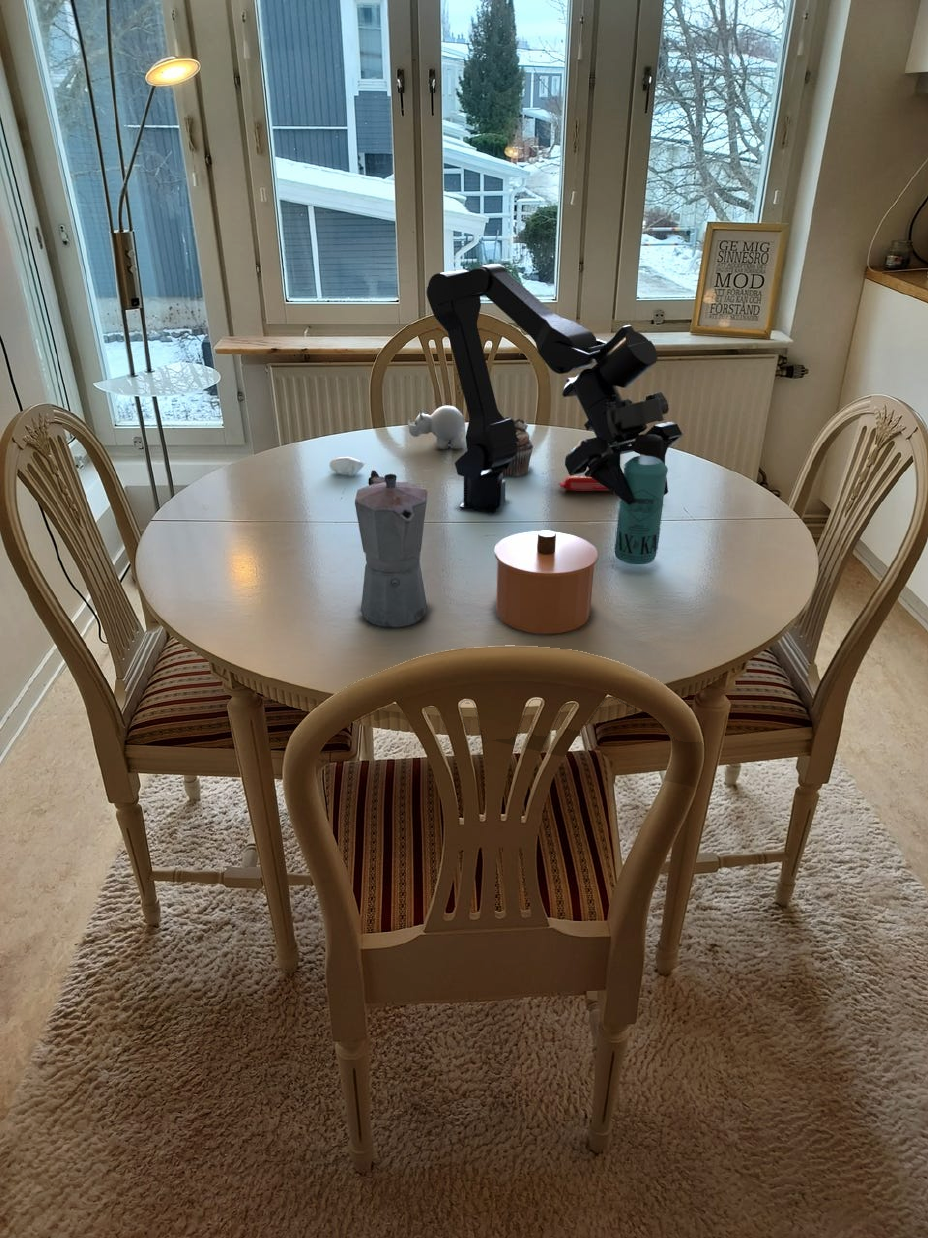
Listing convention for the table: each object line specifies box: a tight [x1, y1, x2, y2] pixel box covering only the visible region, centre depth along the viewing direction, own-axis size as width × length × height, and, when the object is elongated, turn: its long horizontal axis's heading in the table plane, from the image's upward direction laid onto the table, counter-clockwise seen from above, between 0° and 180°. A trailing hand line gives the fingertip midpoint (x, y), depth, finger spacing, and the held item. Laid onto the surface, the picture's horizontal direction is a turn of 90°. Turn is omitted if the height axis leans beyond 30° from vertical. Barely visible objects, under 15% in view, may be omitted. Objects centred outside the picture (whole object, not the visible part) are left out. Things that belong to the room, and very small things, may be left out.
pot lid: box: [494, 529, 599, 577], centre depth 113 cm, size 14×14×4 cm
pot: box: [495, 560, 595, 635], centre depth 115 cm, size 13×13×8 cm
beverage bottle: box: [613, 433, 669, 565], centre depth 126 cm, size 6×7×20 cm
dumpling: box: [328, 456, 365, 477], centre depth 166 cm, size 7×5×4 cm
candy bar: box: [558, 475, 611, 492], centre depth 158 cm, size 16×4×3 cm, turn 92°
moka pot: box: [354, 469, 428, 628], centre depth 112 cm, size 10×15×20 cm, turn 27°
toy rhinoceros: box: [407, 405, 466, 450], centre depth 180 cm, size 7×12×8 cm, turn 89°
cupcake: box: [503, 416, 534, 477], centre depth 167 cm, size 10×10×10 cm
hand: (648, 498), depth 124 cm, fingers closed on beverage bottle, 6 cm apart
